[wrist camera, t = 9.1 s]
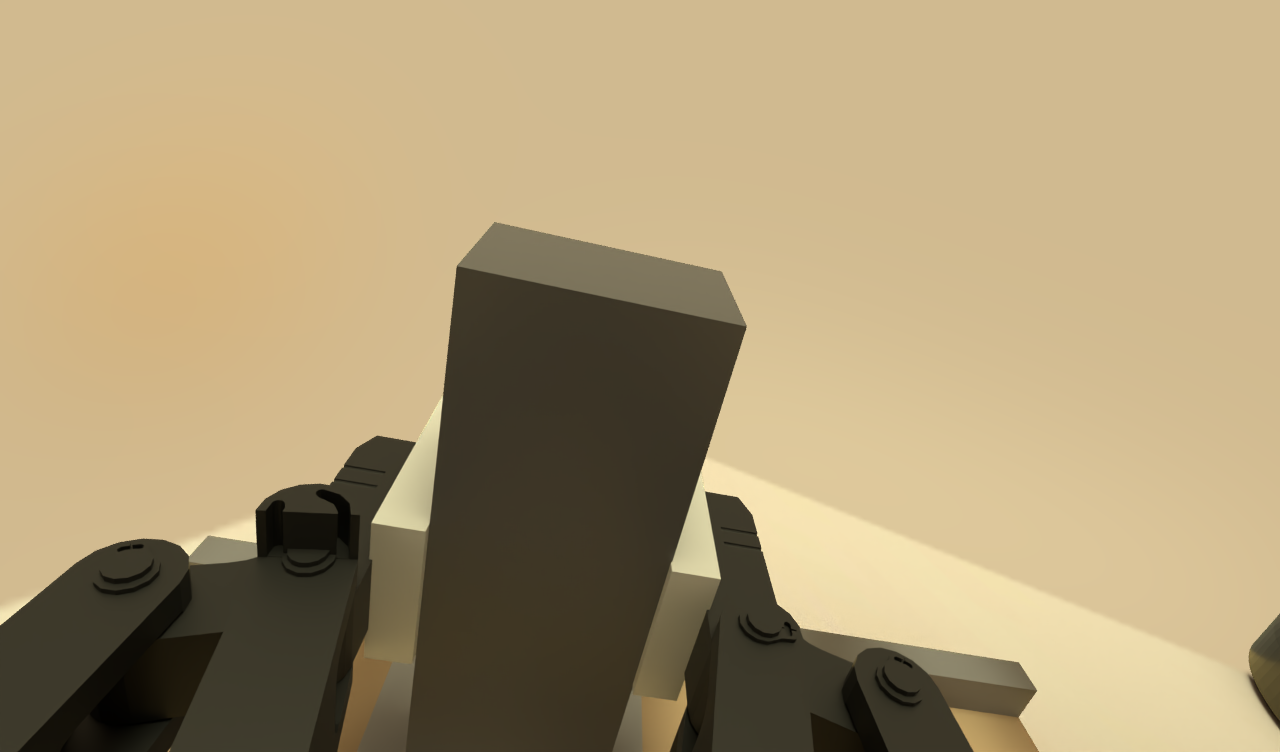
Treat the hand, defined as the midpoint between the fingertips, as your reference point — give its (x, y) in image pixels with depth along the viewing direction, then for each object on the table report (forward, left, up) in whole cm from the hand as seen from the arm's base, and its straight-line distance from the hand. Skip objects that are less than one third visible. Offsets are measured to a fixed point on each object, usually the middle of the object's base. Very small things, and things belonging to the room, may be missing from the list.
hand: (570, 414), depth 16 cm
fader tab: (0, +5, -7) cm, 8 cm away
